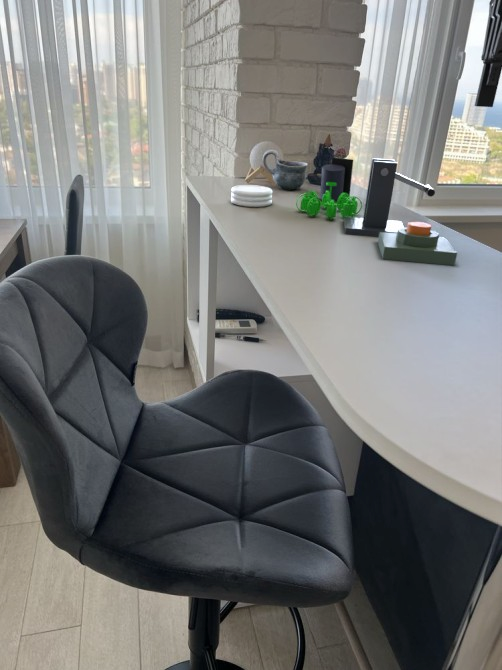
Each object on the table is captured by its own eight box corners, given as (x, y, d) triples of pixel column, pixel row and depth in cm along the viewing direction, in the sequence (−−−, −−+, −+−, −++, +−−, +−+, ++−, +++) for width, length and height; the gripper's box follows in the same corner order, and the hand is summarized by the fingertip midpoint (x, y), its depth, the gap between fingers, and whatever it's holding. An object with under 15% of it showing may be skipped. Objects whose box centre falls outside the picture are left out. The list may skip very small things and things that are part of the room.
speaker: (331, 195, 135) (336, 155, 130) (349, 200, 132) (354, 159, 127) (314, 201, 131) (318, 160, 125) (332, 206, 127) (337, 164, 122)
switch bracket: (399, 226, 109) (412, 159, 102) (406, 239, 100) (420, 166, 94) (343, 222, 110) (352, 155, 104) (344, 233, 101) (354, 161, 95)
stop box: (442, 248, 95) (447, 227, 93) (454, 265, 86) (459, 242, 84) (377, 243, 96) (381, 222, 94) (382, 259, 87) (386, 236, 85)
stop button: (427, 232, 91) (429, 222, 90) (431, 238, 87) (433, 227, 86) (404, 230, 91) (406, 220, 90) (407, 236, 88) (409, 226, 87)
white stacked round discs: (258, 209, 117) (259, 194, 115) (222, 203, 121) (223, 188, 119) (279, 203, 124) (280, 188, 123) (244, 197, 129) (245, 182, 127)
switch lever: (426, 195, 103) (433, 184, 102) (431, 200, 98) (437, 188, 97) (372, 171, 102) (378, 159, 101) (374, 174, 98) (380, 162, 97)
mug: (308, 192, 139) (312, 154, 134) (263, 190, 138) (265, 152, 133) (302, 186, 147) (305, 149, 143) (259, 184, 146) (261, 147, 142)
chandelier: (355, 208, 123) (359, 179, 120) (365, 223, 109) (371, 191, 106) (293, 205, 123) (296, 175, 120) (296, 219, 110) (299, 186, 106)
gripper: (485, -51, 84) (453, 104, 95) (510, -73, 73) (470, 106, 83) (532, -49, 84) (494, 106, 94) (565, -72, 72) (518, 109, 83)
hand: (483, 106), depth 89 cm, fingers closed
